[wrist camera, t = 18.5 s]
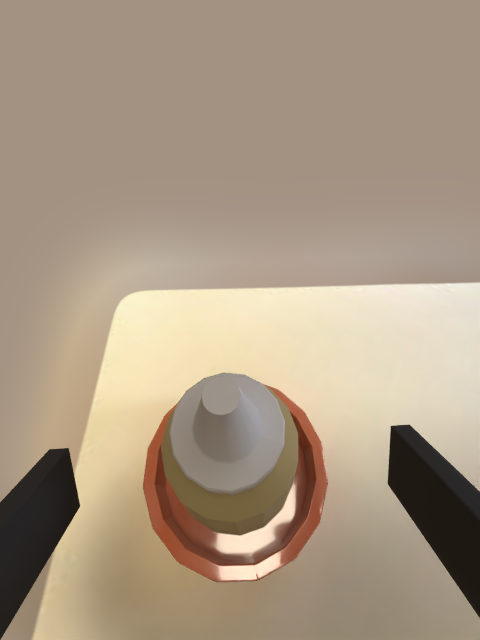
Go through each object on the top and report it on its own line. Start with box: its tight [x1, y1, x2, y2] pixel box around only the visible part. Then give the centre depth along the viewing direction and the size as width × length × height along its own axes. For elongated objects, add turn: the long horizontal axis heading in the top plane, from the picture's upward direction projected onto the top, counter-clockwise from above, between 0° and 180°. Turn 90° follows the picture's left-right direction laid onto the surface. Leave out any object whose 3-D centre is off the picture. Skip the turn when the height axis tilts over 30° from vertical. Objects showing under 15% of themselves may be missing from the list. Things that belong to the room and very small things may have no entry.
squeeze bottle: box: [161, 373, 298, 536], centre depth 17 cm, size 8×8×18 cm
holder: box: [143, 384, 328, 582], centre depth 23 cm, size 13×13×4 cm
